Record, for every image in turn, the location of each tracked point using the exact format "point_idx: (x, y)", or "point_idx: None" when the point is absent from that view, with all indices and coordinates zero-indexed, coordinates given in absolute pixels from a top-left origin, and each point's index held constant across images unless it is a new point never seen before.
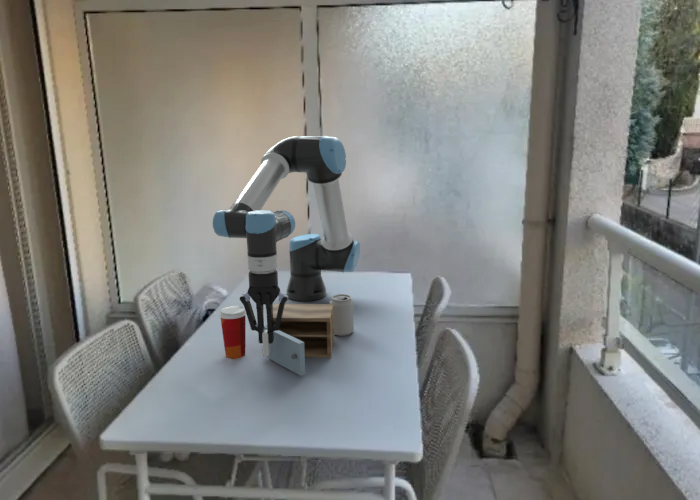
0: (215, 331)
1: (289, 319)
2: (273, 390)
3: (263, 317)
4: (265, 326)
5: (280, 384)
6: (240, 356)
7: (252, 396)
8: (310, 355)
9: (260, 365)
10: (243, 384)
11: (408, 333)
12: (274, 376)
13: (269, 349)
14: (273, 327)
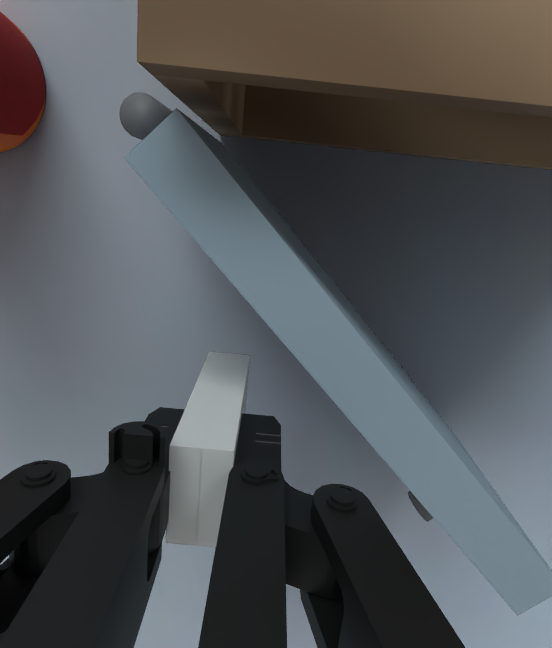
0: None
1: (491, 107)
2: None
3: (121, 580)
4: (154, 162)
5: (317, 485)
6: (22, 138)
7: (197, 576)
8: (510, 164)
9: (183, 262)
10: None
11: None
12: (281, 404)
13: (244, 403)
14: (290, 575)
